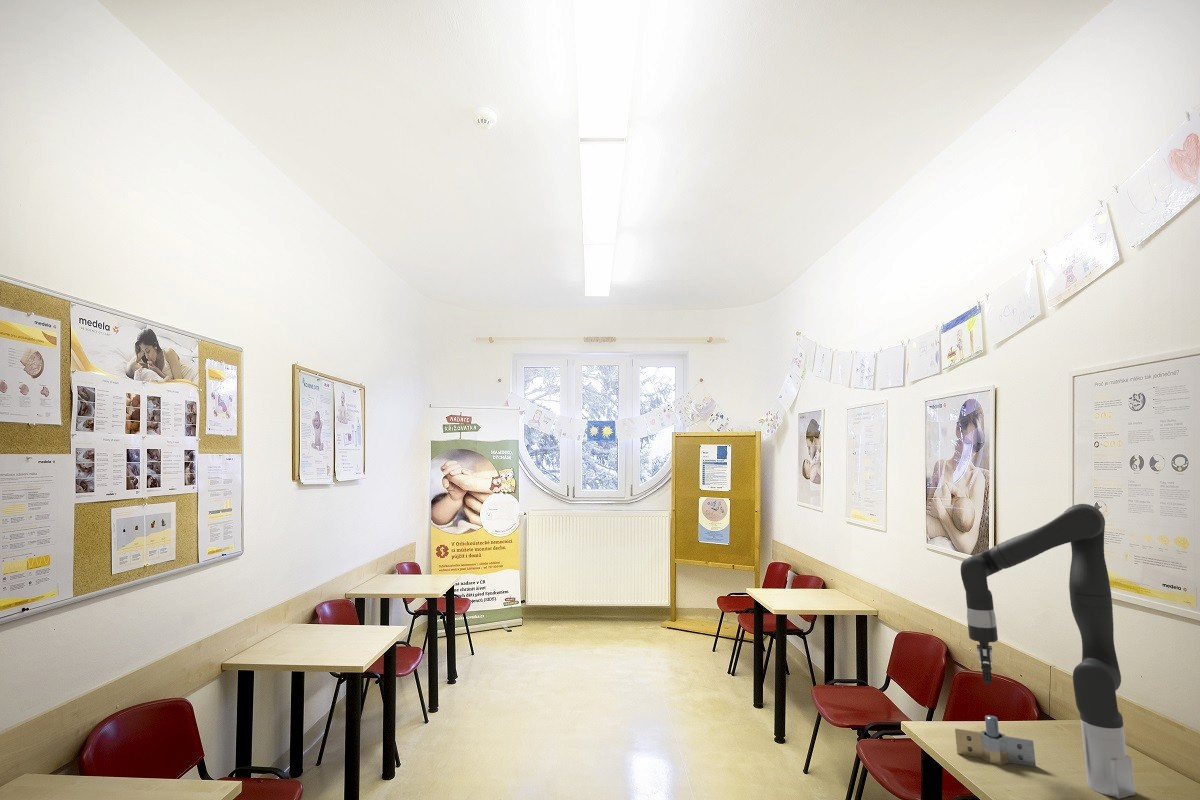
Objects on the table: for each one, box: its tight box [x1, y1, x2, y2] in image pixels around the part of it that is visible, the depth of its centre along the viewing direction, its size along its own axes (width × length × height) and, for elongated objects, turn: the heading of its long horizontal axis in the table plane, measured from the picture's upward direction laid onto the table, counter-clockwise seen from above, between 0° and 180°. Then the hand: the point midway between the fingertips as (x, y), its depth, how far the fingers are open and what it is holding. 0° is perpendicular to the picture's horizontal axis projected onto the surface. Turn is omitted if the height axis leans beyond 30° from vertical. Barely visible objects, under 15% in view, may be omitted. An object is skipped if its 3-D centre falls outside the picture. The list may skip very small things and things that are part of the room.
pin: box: [984, 714, 999, 738], centre depth 189 cm, size 3×3×12 cm
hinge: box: [954, 727, 1037, 768], centre depth 188 cm, size 20×6×7 cm, turn 60°
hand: (987, 679), depth 190 cm, fingers open, 8 cm apart
